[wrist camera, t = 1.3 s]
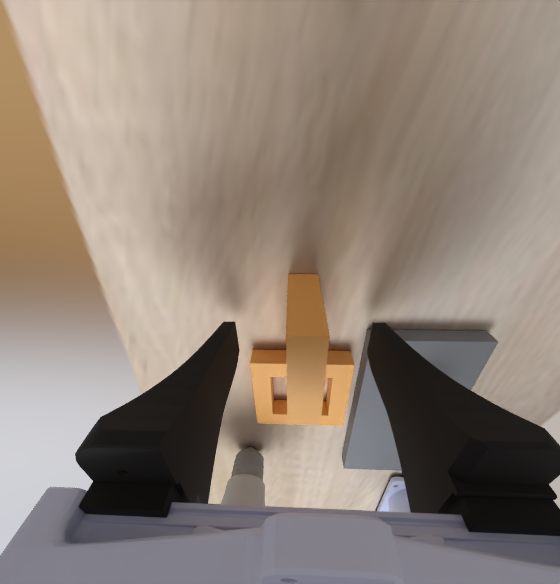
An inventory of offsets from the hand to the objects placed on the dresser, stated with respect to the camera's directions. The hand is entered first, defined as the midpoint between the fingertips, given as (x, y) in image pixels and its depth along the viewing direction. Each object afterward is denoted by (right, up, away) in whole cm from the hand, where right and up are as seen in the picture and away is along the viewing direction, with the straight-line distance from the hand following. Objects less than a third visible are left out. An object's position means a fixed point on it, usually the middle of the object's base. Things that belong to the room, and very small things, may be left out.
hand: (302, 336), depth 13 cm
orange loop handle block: (0, -2, +3) cm, 4 cm away
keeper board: (+8, -6, +6) cm, 12 cm away
